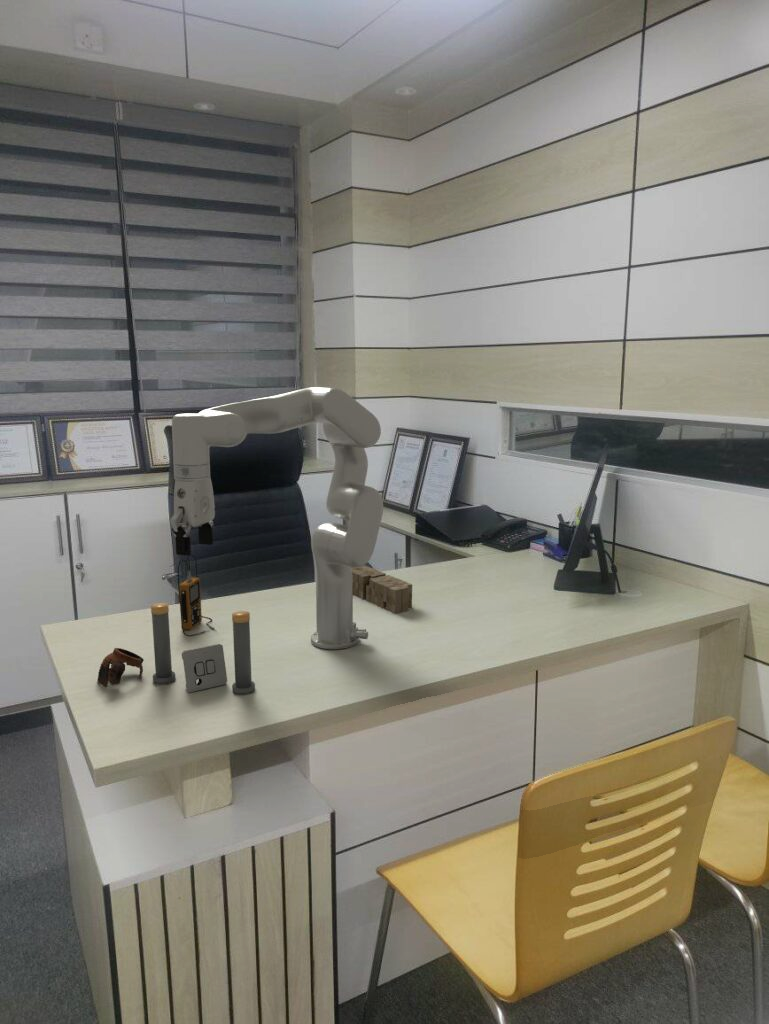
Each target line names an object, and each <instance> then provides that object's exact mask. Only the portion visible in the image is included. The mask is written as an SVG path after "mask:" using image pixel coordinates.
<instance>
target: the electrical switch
mask: <svg viewBox="0 0 769 1024" xmlns="http://www.w3.org/2000/svg"><path fill="white" fill-rule="evenodd" d="M181 659H182V661H183V662H182V663H183V669H184V670H183V671H184V678H185V690H186V691H187V692H188V693H193V692H197V691H201V690H205V689H210V688H214V687H219V686H223V685H226V684H227V683H228V676H227V675H228V674H227V667H226V661H225V652H224V646H223V645H222V644H221V643H216V644H210V645H206V646H201V647H196V648H190V649H189V648H188V649H186V650H183V651H182V652H181ZM197 680H198V681H197Z"/></svg>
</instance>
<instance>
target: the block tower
mask: <svg viewBox="0 0 769 1024" xmlns="http://www.w3.org/2000/svg"><path fill="white" fill-rule="evenodd" d="M351 570H352V576H353V596H355V597H357V598H359V599H361V600H365V601H366V602H368V603H371V604H372V605H375V606H377V607H379V608H381V609H386V611H388V612H390V613H392V614H393V615H396V614H400V613H404V612H408V611H409V609H411V608H413V584H412V583H410V582H407V581H406V580H403V579H400V578H396V577H395V576H393V575H389V574H388V575H387V573H386V572H382V571H380V570H378V569H376V568H373V567H369V566H367V565H366V564H365V565H364V566H361V567H351Z"/></svg>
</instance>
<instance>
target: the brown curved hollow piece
mask: <svg viewBox="0 0 769 1024" xmlns="http://www.w3.org/2000/svg"><path fill="white" fill-rule="evenodd" d="M144 661H145V659H144V658H143V657H142V656H140V655H139V654H136V653H134V652H132V651H130V650H127V649H124V648H118V647H115V648H114V649H113V652H111V653H109V654H107V655H106V656H105V657H104V658H103V659H102V662H101V663H100V666H99V670H98V672H97V673H98V675H97V683H99V684H100V685H101V686H103V687H105V688H106V687H108V686H109V685H108V684H111V685H112V686H113V685H114V686H115V685H119V684H120V682H121V680H122V677H123V675H124V672H125V671H126V666H130V667H134V668H138V669H139V673H138V678H139V679H141V678H142V676H143V672H144V666H143V662H144Z"/></svg>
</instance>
